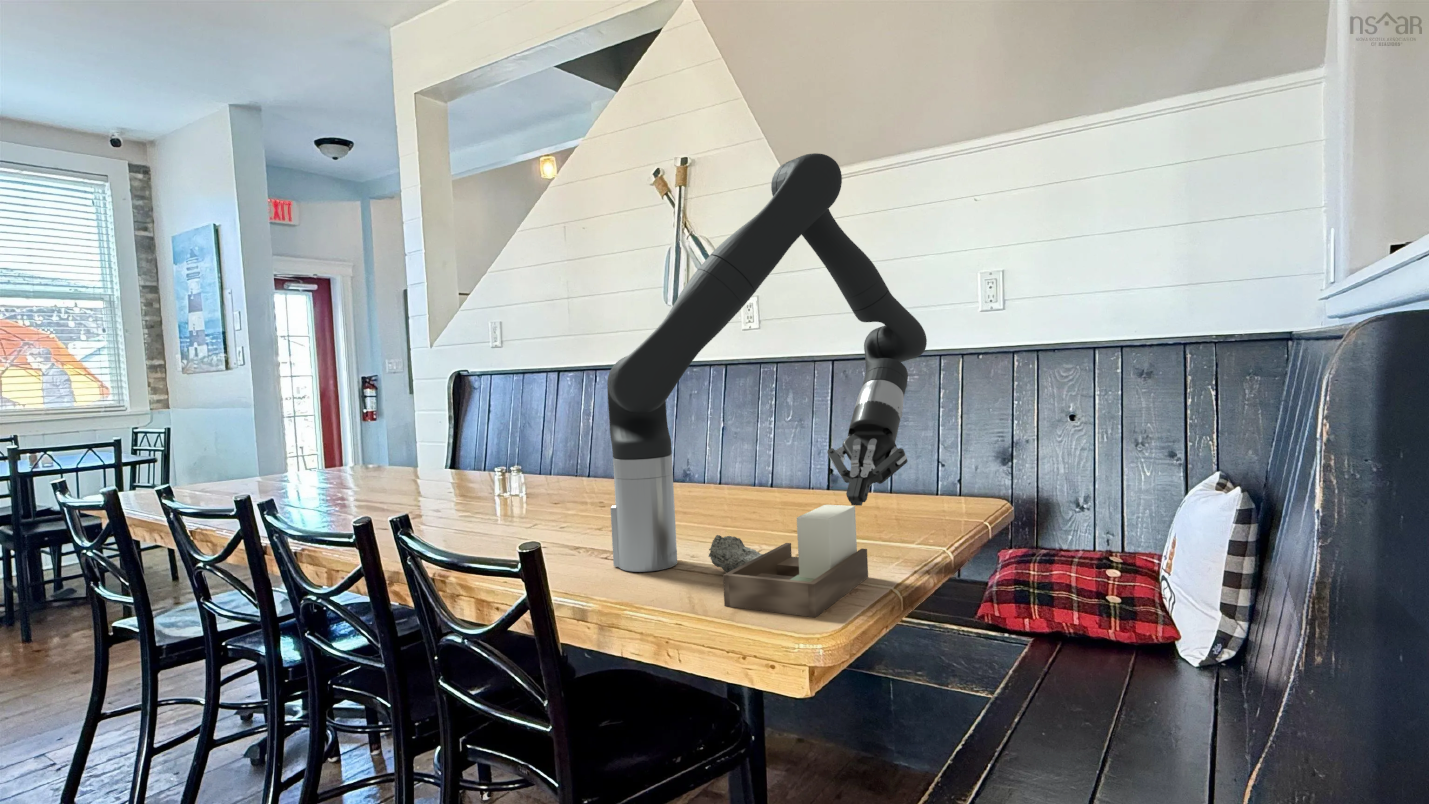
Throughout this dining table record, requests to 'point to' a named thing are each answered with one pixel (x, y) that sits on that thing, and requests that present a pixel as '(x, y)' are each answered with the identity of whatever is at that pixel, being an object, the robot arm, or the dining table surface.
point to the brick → (825, 538)
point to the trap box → (791, 583)
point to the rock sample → (730, 553)
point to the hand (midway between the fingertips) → (855, 502)
